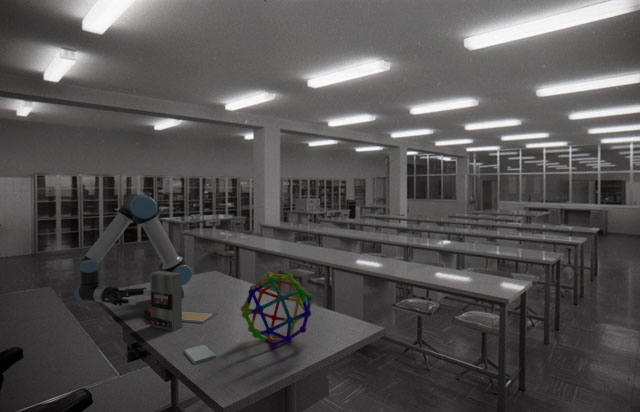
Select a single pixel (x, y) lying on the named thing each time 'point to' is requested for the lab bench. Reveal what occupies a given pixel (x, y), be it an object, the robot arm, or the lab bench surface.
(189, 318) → the picture board
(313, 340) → the lab bench surface
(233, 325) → the lab bench surface
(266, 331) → the geometric model
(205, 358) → the hard drive
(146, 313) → the calculator
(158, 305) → the grey instrument box
